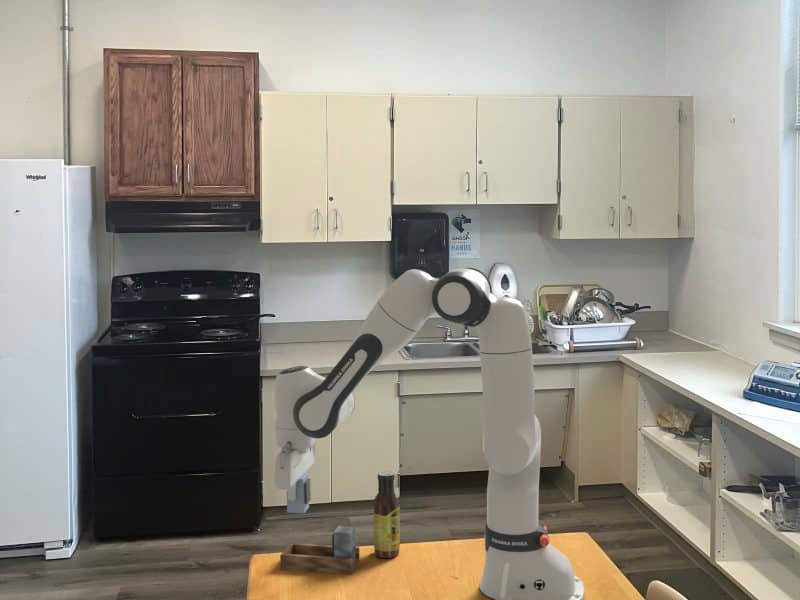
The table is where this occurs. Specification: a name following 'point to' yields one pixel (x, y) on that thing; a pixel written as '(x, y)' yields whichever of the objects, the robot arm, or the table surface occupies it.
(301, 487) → the blue grey rectangular block
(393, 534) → the sauce bottle
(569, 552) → the table surface
